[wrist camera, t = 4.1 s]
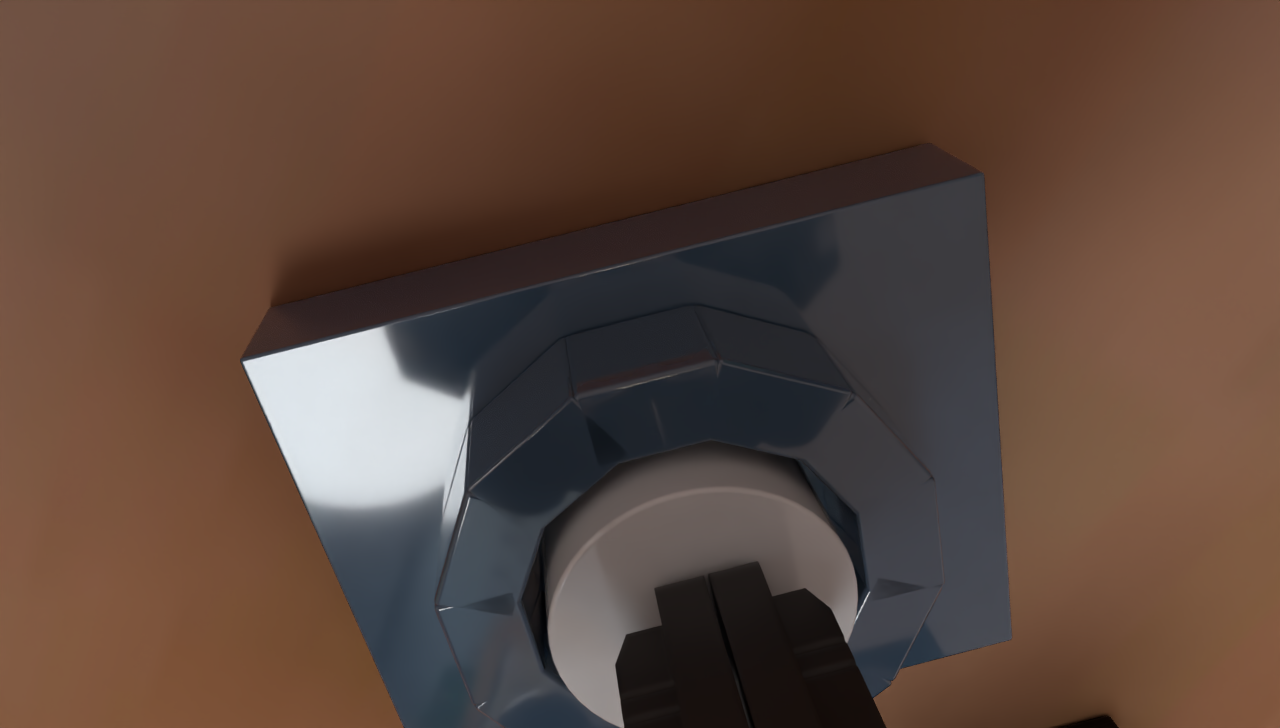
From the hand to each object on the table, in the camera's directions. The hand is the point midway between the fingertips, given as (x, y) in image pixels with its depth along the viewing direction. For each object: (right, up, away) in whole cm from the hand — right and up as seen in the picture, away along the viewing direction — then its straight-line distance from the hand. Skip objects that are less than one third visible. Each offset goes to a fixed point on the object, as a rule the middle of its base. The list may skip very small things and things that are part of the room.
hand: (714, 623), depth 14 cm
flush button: (0, +1, +2) cm, 2 cm away
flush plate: (-1, +2, +4) cm, 5 cm away
